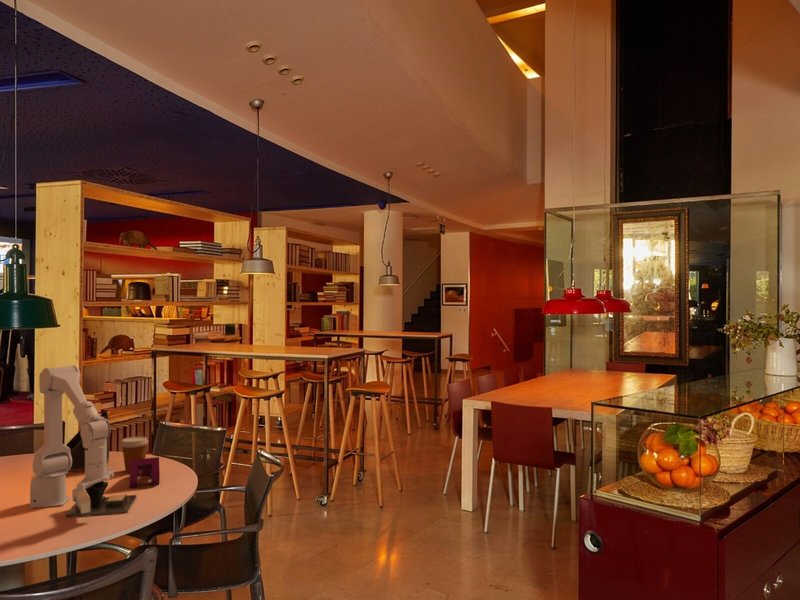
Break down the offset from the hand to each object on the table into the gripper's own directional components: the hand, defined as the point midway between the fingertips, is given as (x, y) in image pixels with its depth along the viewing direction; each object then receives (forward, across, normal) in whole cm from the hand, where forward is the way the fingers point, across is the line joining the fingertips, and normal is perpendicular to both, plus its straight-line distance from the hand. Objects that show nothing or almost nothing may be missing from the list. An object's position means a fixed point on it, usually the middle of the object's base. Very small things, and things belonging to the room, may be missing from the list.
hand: (96, 508), depth 179 cm
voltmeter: (+4, +52, +40) cm, 65 cm away
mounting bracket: (+4, +38, +7) cm, 39 cm away
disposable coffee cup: (+4, +49, +17) cm, 52 cm away
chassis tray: (+3, +10, +5) cm, 12 cm away
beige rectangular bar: (0, +3, +7) cm, 7 cm away
